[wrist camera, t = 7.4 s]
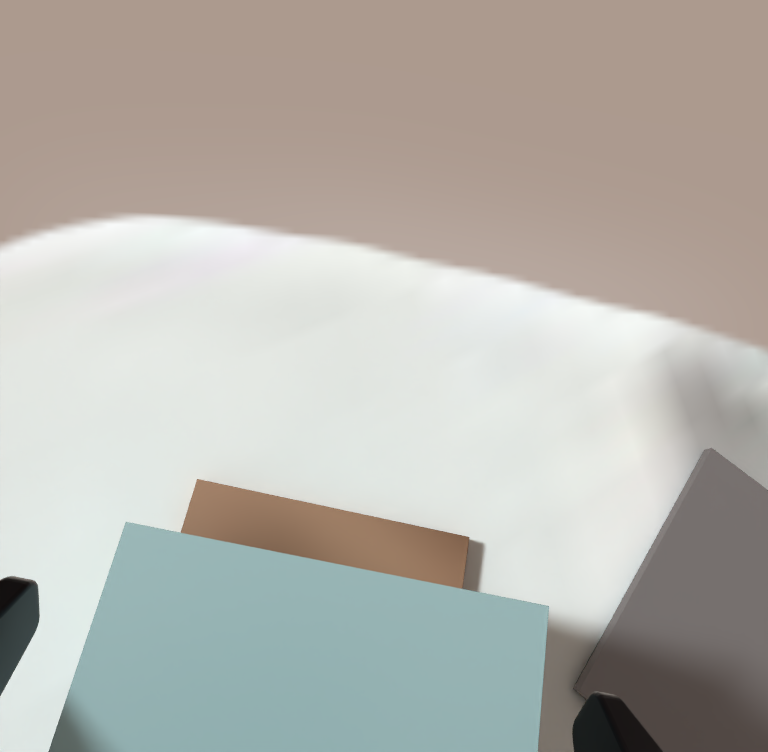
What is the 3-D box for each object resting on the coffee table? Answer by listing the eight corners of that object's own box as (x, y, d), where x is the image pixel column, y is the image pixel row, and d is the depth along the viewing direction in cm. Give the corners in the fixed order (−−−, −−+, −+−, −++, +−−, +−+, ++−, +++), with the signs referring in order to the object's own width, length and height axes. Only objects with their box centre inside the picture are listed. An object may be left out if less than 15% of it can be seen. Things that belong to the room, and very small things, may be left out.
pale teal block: (393, 787, 16) (510, 1090, 7) (163, 747, 15) (-41, 1013, 6) (423, 584, 18) (549, 605, 9) (220, 543, 17) (125, 521, 8)
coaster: (419, 861, 16) (423, 871, 15) (101, 805, 15) (93, 815, 15) (464, 537, 19) (469, 537, 18) (200, 481, 18) (197, 478, 18)
